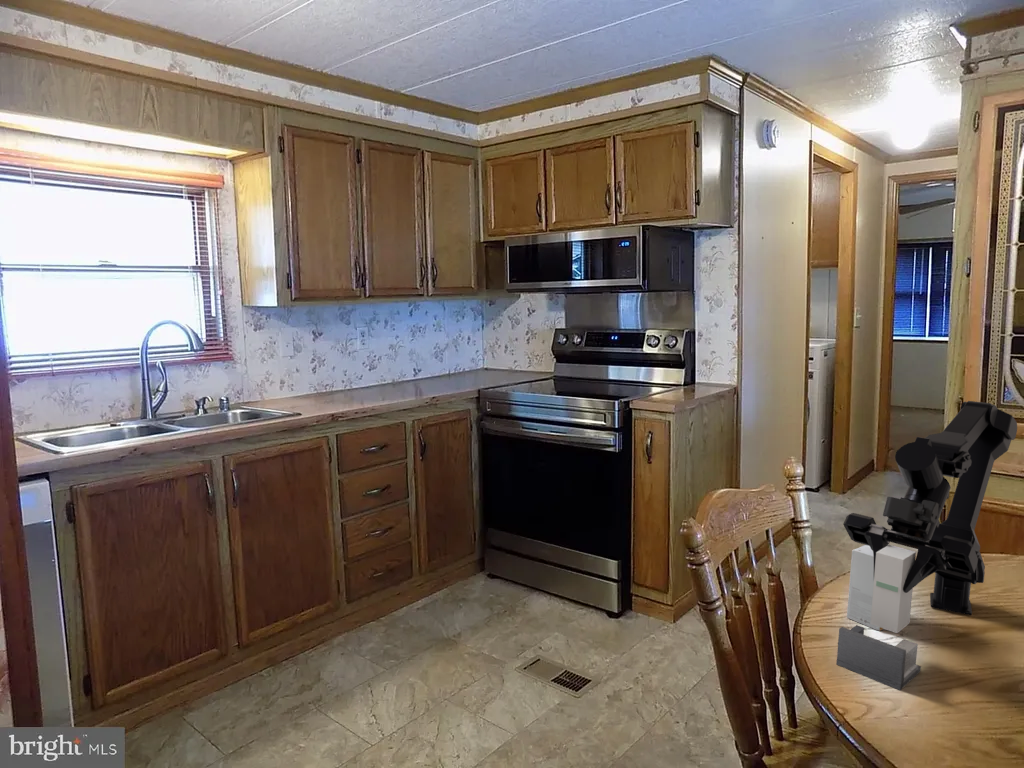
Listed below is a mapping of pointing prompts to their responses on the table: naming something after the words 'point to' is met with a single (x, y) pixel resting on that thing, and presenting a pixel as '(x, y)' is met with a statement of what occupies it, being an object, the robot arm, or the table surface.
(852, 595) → the small box
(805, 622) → the table surface
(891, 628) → the block
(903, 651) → the gray open holder
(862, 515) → the robot arm
